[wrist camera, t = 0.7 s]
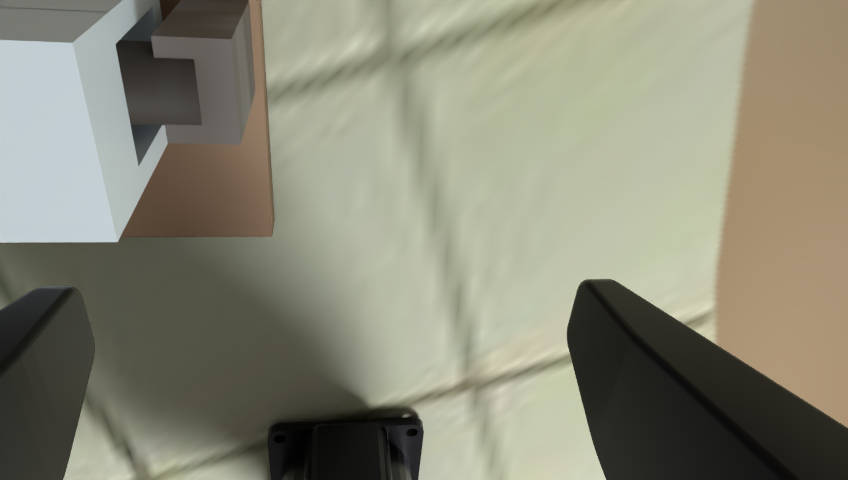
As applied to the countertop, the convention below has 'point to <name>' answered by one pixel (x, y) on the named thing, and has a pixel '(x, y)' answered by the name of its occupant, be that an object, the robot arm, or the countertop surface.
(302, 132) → the countertop surface
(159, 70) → the dumbbell on board
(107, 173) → the white sleeve
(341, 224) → the countertop surface
